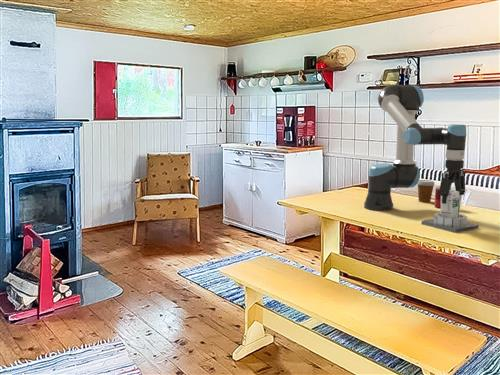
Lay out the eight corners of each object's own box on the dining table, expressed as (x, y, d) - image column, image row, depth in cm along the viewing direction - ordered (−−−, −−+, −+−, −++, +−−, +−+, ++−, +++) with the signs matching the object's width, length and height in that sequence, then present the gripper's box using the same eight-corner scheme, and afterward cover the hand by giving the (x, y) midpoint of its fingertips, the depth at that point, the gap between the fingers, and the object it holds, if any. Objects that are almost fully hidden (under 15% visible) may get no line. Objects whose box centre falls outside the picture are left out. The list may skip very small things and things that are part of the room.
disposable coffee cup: (413, 199, 278) (415, 179, 276) (430, 200, 277) (432, 179, 275) (418, 203, 269) (419, 182, 267) (435, 203, 268) (436, 182, 266)
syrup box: (451, 224, 212) (452, 192, 209) (439, 222, 217) (440, 191, 214) (458, 222, 215) (460, 191, 213) (447, 220, 220) (447, 189, 217)
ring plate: (421, 223, 220) (422, 213, 219) (444, 220, 228) (445, 209, 227) (455, 232, 205) (456, 221, 204) (478, 228, 213) (479, 217, 212)
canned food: (441, 209, 252) (443, 189, 250) (431, 206, 259) (432, 186, 257) (453, 208, 255) (454, 188, 253) (441, 205, 262) (443, 186, 260)
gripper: (446, 161, 203) (442, 213, 207) (476, 159, 213) (472, 208, 217) (432, 159, 209) (428, 210, 213) (462, 157, 219) (458, 205, 223)
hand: (450, 209), depth 215 cm, fingers open, 8 cm apart
